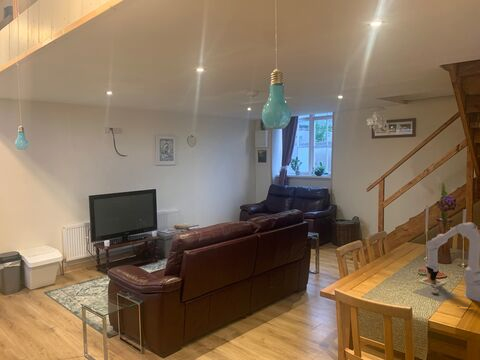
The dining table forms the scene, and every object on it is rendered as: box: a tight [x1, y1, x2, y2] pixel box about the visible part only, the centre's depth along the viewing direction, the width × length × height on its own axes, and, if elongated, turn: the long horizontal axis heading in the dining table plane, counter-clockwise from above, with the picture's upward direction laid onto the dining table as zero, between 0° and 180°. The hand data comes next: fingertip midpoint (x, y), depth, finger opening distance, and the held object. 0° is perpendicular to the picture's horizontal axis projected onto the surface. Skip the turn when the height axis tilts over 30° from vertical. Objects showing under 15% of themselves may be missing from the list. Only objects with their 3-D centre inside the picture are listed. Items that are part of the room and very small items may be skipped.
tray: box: [418, 277, 446, 288], centre depth 236 cm, size 11×11×2 cm
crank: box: [429, 281, 439, 295], centre depth 221 cm, size 10×4×5 cm, turn 167°
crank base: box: [412, 285, 458, 303], centre depth 218 cm, size 18×18×1 cm
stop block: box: [427, 272, 437, 284], centre depth 235 cm, size 4×4×5 cm
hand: (432, 279), depth 235 cm, fingers closed on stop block, 4 cm apart
